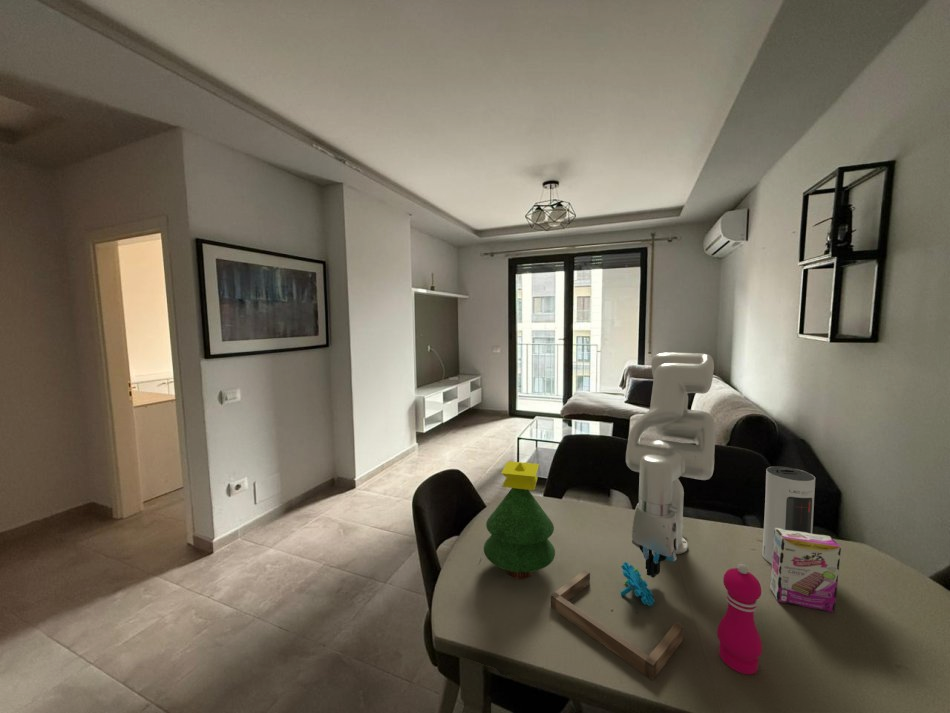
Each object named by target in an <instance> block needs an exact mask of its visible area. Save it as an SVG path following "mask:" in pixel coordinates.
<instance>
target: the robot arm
mask: <svg viewBox="0 0 950 713" xmlns="http://www.w3.org/2000/svg"><path fill="white" fill-rule="evenodd" d="M650 364H651V365H650V366H651V373H652V377H653V383H652V390H651V399H650V405H649V410H647V412H645V413H644V414H643V415H642V416H640V417H639V418H638V419H637V420H636V421H635V422H634V424H633V425H632V427H631V429H630V431H629V434H628V440H627V445H626V451H625V463H626V466H627V467H628V468H629V469H630V470H631V471H633V472H636V473H639V474H638V475H639V478H638V479H639V480H638V481H639V484H638V503H637V504H636V506H635V510H634V513H633V518H632V525H631V539H632V540H631V543H632V544H633V545H634V546H635V547H636V548H639V550H640V551H641V553H642V555H643V558H644V559H645V570H646V576H648V577H649V576H650V578H652V579H654V578H655V577H657V575H659V574H660V572H661V562H663V561H667V562H672V563H674V562H675V561H677V555H680V554H684V553H685V552H687V550H688V541H687V540H686V539H685V538H684V537H683V529H684V527H685V524H684V522H683V520H684V519H683V517H684V514H683V513H684V498H685V497H684V496H685V495H684V494H685V492H684V487H683V485H682V483H681V481H680V479H679V478H680V477H683V478H689V479H695V480H701V481H706V480H710V479H711V478H712V476H713V473H714V470H715V449H716V444H715V443H716V421H715V419H714V417H713V415H712V414H711V413H709V412H707V411H703V410H695V409H689V408H688V405H689V395H688V393H690V394H704V395H705V394H706V393H708V392H709V391H710V389H711V387H712V383H713V377H714V371H715V370H714V369H715V363H714V358H713V357H712V356H711V355H710V354H708V353H699V352H698V353H697V352H660V353H657V354H655V355H653V357H652V359H651V363H650ZM652 428H655V431H656V434H657V435H658V436H660V437H662V438H665V439H671V440H665V439H655V440H652V441H650V442H649V443H648V444H647V445H646V444H641V443H640V440H641V438H642V436H643V434H644V433H645V432H647V431H649V430H651V429H652ZM672 439H673V440H679V441H673V440H672ZM680 441H685V442H680ZM687 442H691V443H687ZM692 443H695V444H692Z"/></svg>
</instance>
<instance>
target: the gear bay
mask: <svg viewBox="0 0 950 713" xmlns="http://www.w3.org/2000/svg"><path fill="white" fill-rule="evenodd" d="M590 580H591V572H589V571H588V570H587V569H584V570H583V571H581V572H580V573H579V574H577V575H575V577H573V578H572V579H570V580H569V581H567V582H566V583H565V584H564V585H562V586H561V587H560V588H558V589H557V590H556V591H554V592H553V593H552V594H550V608H551V609H553V610H554V611H555V612H557V613H559V614H560V615H561V616H563V617H564V618H565V619H567V620H568V621H570V622H571V623H572V624H573V625H575V626H576V627H578V628H579V629H580V630H582V631H583V632H584V633H586V634H587V635H589V636H590V637H592V638H593V639H595V640H596V641H597V642H598V643H600V644H601V645H603V646H604V647H605V648H606V649H608V650H610V651H611V652H613V653H614V654H615V655H617V656H618V657H620V658H621V659H622V660H624V662H626V663H628V664H629V665H630V666H632V667H634V668H635V669H636V670H638V671H639V672H640V673H642V674H643V675H644V676H646V677H647V678H648V679H650V680H652V681H654V680H655V678H656V677H657V676H658V674H659V673H660V672H661V670H662V669H663V668H664V666H665V665H666V664H667V662H668V661H669V660H670V658H671V657H672V655H673V654H674V653H675V651H676V650H677V649H678V647H679V645H680V644H681V643H682V642H683V640H684V629H685V628H684V625H683V624H680V623H679V622H675V623H674V624H673V625H672V627H671V628H670V629H669V630H668V631H667V633H666V634H665V635H664V636H663V638H662V639H661V640H660V641H659V642H658V644H657V645H656V646H655V648H653V650H652V651H651V652H650V654H647V653H646V652H644V651H643V650H642V649H640V648H639V647H637V646H636V645H634V644H632V643H631V642H629V641H628V640H626V638H624V637H622V636H621V635H619V634H618V633H616V632H615V631H614V630H612V629H610V628H609V627H607V626H606V625H604V624H603V623H601V622H600V621H599V620H597V619H595V618H594V617H592V616H591V615H589V614H588V613H586V611H583V610H582V609H581V608H580V607H578V606H577V605H575V604H573V603H572V602H570V600H572V599H573V598H574V597H575V596H576V595H577V594H579V593H580V592H581V591H583V589H585V588H586V587H587V586H589V585H590V584H591V581H590Z"/></svg>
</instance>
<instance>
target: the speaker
mask: <svg viewBox="0 0 950 713" xmlns="http://www.w3.org/2000/svg"><path fill="white" fill-rule="evenodd" d="M765 470H766V471H765V472H766V473H765V498H764V501H765V502H764V520H763V536H762V539H763V540H762V551H761V552H762V553H761V555H762V556H761V557H763V559H764V560H765V561H766V562H767V563H768V564H770V565H772V554H773V542H774V530H775V528H780V529H786V530H793V531H799V532H806V533H813V525H814V510H815V509H814V506H815V490H816V489H815V488H816V477H815V476H814V475H813V474H812V473H810V472H807V471H804V470H801V469H798V468H793V467H788V466H779V465H777V466H769V467H767V468H766V469H765Z"/></svg>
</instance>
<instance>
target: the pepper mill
mask: <svg viewBox="0 0 950 713" xmlns="http://www.w3.org/2000/svg"><path fill="white" fill-rule="evenodd" d="M722 581H723V585H724V588H725V600H726V601H727V609H726V612H725V614H724V616H723V617H722V618H721V620H719V623H718V626H717V630H716V635H717V639H718V641H719V646H718V647H719V649H718V654H719V657H720V659H721V660H722V661H723V663H724V664H726V665H727V666H728V667H729V668H730V669H732V670H733V671H735V672H737V673H740V674H743V675H753V674H756V673H757V672H758V669H759V658H760V657H761V656H762V654H763V643H762V639H761V636H760V634H759V631H758V628H757V626H756V624H755V615H754V613H755V611H757V610H758V600H759V599H760V597H761V596H762V586H761V583H760V581H759V580H758V578H757V577H756V576H755V575H754V574H752V573H751V572H749V568H748V566H747V565H746V564H744V563H739V564H737V566H736V568H735V567H733V568H729V569H728V570H726V571H725V573H724V574H723V580H722Z"/></svg>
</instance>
